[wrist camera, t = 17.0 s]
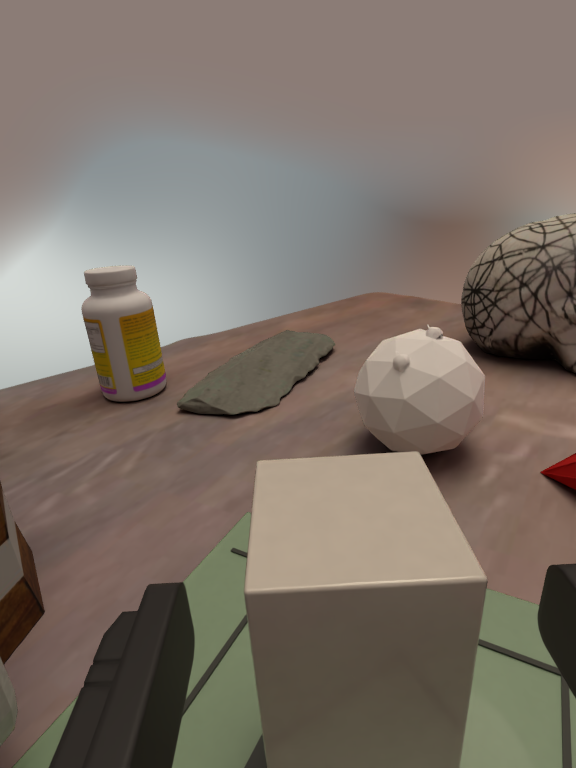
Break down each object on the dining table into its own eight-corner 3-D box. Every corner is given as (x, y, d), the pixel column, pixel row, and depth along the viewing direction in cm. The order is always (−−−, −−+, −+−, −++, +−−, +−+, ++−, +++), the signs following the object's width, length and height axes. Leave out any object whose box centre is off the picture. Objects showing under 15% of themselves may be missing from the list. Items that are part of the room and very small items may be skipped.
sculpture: (567, 401, 39) (604, 221, 34) (433, 341, 57) (441, 216, 51) (690, 372, 43) (741, 207, 38) (528, 325, 61) (546, 208, 55)
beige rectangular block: (404, 685, 16) (419, 449, 12) (448, 856, 12) (490, 579, 8) (279, 691, 16) (256, 459, 13) (278, 863, 12) (242, 592, 8)
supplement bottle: (173, 377, 51) (154, 261, 46) (158, 402, 44) (133, 271, 40) (115, 381, 51) (89, 265, 46) (92, 405, 45) (59, 276, 40)
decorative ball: (485, 536, 28) (423, 378, 24) (370, 490, 37) (311, 368, 33) (553, 451, 32) (510, 300, 28) (434, 427, 41) (387, 310, 36)
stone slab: (338, 355, 58) (269, 340, 61) (340, 335, 56) (270, 321, 60) (260, 439, 39) (167, 411, 42) (261, 412, 38) (165, 385, 41)
